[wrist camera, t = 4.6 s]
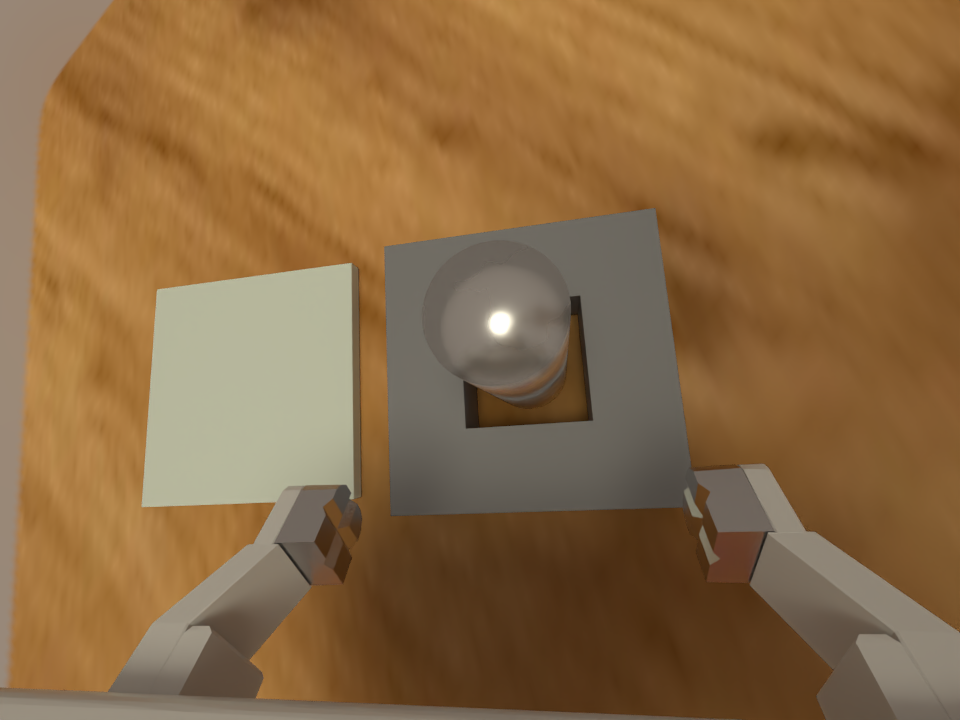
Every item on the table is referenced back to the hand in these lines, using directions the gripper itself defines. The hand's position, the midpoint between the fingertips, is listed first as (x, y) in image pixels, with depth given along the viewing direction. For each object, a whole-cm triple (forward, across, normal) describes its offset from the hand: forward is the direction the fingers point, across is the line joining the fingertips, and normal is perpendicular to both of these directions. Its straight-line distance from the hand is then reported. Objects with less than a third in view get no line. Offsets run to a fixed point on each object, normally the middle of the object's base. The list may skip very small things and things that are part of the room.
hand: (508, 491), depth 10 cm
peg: (+10, 0, +4) cm, 11 cm away
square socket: (+10, 0, +4) cm, 11 cm away
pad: (+11, +15, +4) cm, 19 cm away
